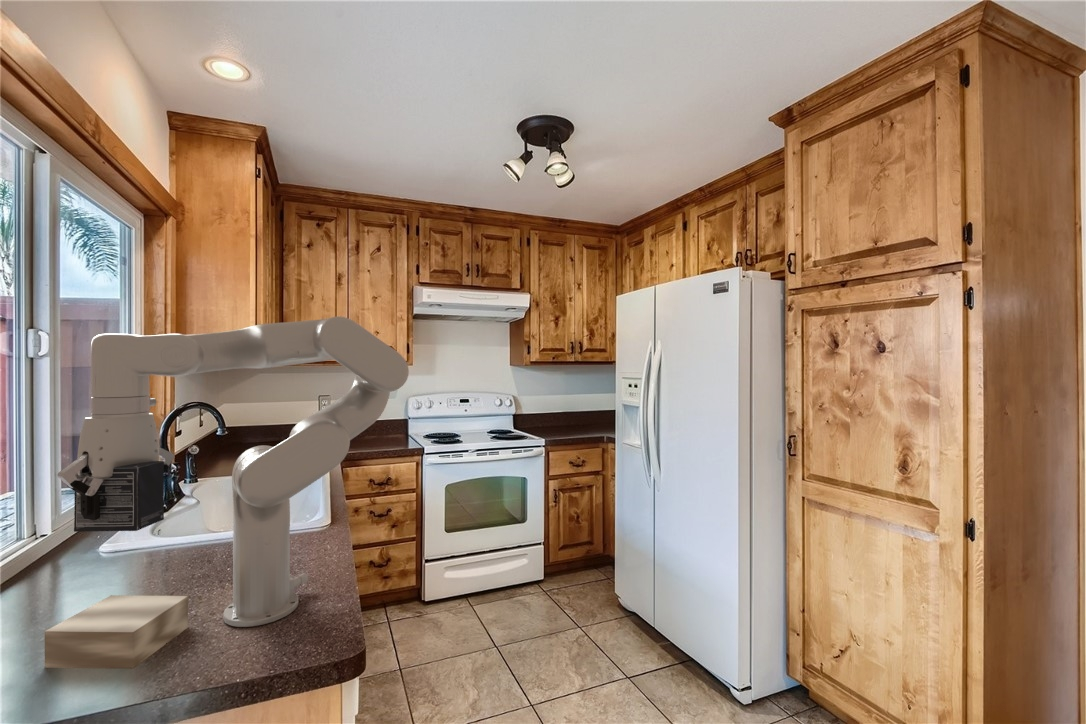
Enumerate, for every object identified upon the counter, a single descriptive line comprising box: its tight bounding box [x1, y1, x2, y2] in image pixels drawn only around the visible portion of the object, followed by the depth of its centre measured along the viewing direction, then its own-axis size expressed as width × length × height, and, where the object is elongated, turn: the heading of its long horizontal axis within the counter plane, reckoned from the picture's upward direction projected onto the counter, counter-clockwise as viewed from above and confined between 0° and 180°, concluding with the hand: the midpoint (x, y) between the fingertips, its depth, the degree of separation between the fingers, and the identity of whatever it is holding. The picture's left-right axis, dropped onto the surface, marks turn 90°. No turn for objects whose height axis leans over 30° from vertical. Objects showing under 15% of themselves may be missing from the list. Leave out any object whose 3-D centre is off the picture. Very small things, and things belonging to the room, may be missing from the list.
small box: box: [73, 460, 165, 533], centre depth 85 cm, size 11×6×10 cm, turn 91°
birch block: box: [44, 594, 189, 669], centre depth 85 cm, size 12×14×6 cm
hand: (121, 510), depth 85 cm, fingers closed on small box, 8 cm apart
